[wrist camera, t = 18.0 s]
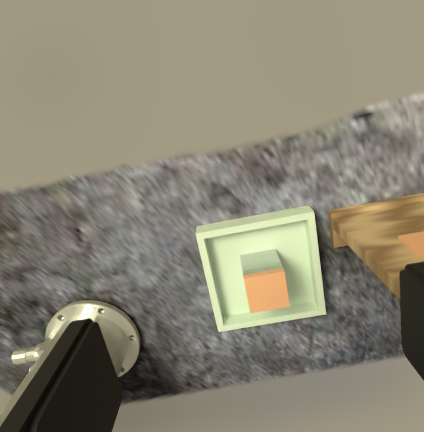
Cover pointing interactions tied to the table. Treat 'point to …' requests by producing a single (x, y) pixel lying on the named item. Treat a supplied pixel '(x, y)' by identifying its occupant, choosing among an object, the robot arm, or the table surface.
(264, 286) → the block
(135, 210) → the table surface
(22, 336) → the table surface
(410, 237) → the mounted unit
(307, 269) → the tray
